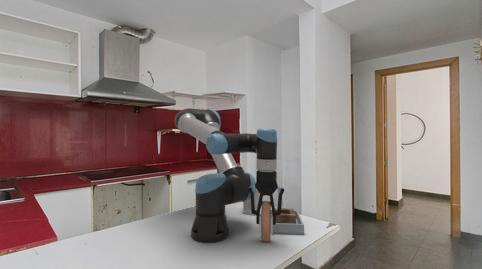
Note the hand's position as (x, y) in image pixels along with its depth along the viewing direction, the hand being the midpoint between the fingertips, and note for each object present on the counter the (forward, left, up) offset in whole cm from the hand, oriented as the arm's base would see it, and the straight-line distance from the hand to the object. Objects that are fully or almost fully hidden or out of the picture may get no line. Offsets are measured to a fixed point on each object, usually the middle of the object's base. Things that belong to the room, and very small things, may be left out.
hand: (265, 232), depth 89 cm
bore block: (+8, +16, -3) cm, 18 cm away
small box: (-7, +32, -3) cm, 33 cm away
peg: (0, 0, -3) cm, 3 cm away
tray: (+7, +15, -3) cm, 17 cm away
